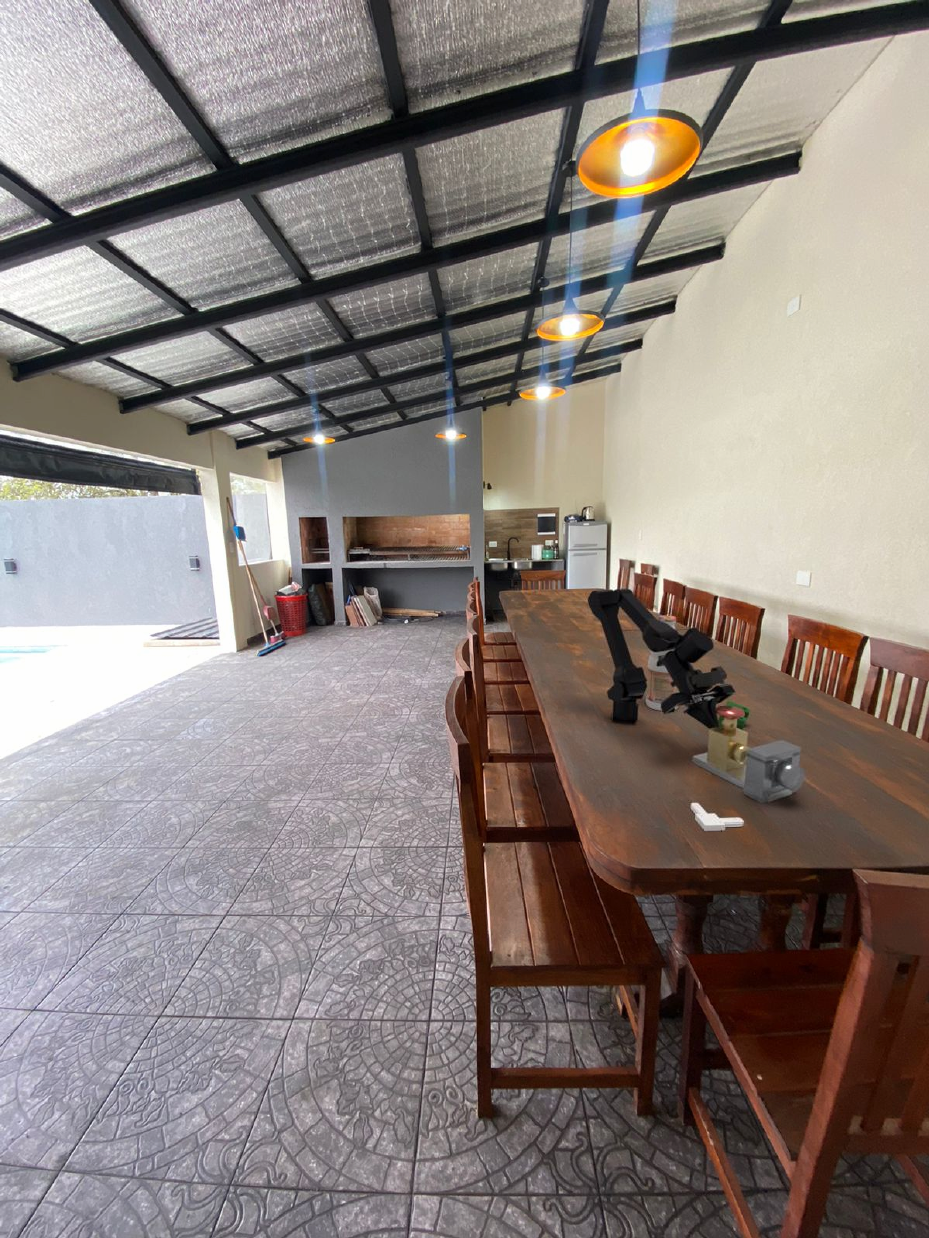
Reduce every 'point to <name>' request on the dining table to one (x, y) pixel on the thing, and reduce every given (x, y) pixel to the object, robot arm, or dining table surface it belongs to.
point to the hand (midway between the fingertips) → (717, 731)
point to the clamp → (739, 720)
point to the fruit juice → (659, 675)
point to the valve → (728, 740)
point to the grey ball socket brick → (764, 771)
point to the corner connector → (713, 820)
